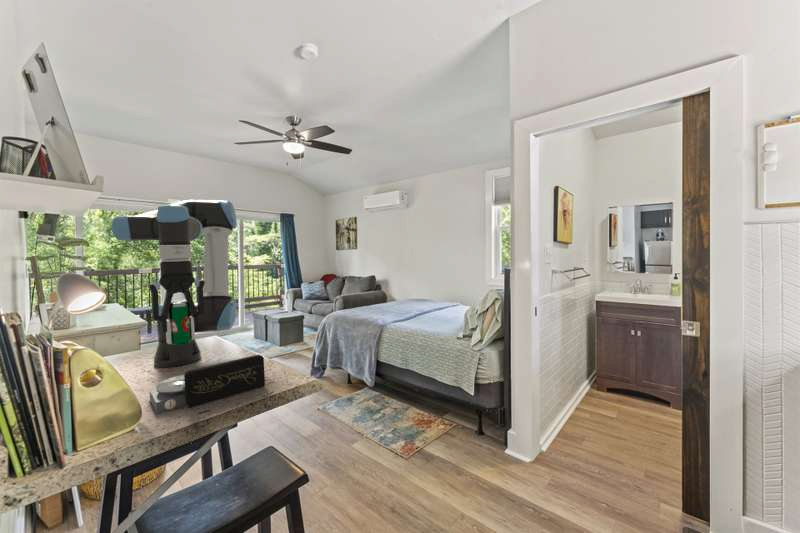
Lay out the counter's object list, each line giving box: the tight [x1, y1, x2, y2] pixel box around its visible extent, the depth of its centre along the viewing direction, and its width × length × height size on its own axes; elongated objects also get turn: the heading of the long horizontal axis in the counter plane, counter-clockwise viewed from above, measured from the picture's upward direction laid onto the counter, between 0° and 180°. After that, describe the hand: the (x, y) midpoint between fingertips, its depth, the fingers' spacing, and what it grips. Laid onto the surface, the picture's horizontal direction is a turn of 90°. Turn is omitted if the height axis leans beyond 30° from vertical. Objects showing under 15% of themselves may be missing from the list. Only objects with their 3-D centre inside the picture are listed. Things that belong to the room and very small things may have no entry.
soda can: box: [169, 300, 191, 345], centre depth 98 cm, size 5×5×12 cm
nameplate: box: [183, 354, 266, 409], centre depth 100 cm, size 21×2×10 cm, turn 132°
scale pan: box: [155, 374, 185, 394], centre depth 98 cm, size 11×11×2 cm
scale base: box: [149, 388, 187, 415], centre depth 98 cm, size 12×13×3 cm
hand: (180, 340), depth 98 cm, fingers closed on soda can, 5 cm apart
